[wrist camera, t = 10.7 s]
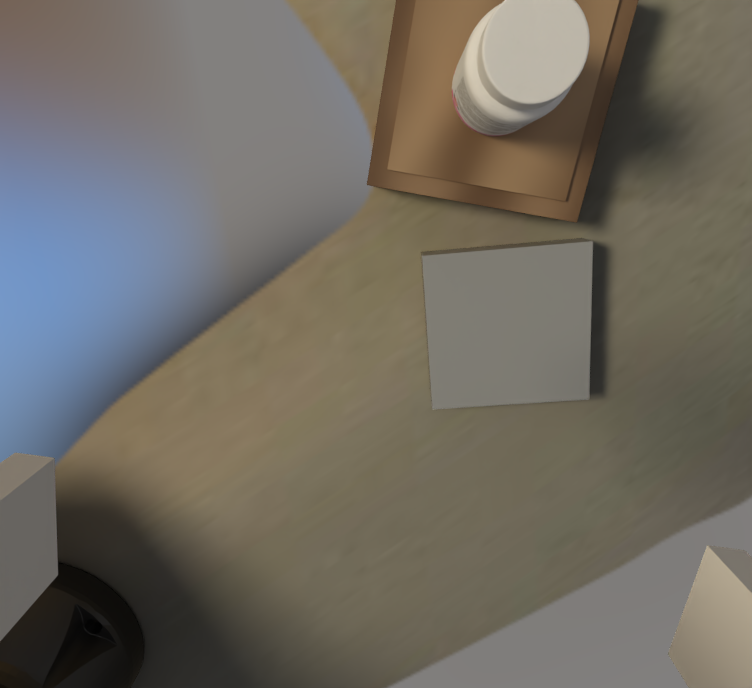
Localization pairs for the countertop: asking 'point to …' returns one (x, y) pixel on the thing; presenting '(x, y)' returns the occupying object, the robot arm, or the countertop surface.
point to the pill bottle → (519, 64)
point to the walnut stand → (481, 152)
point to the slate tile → (508, 323)
